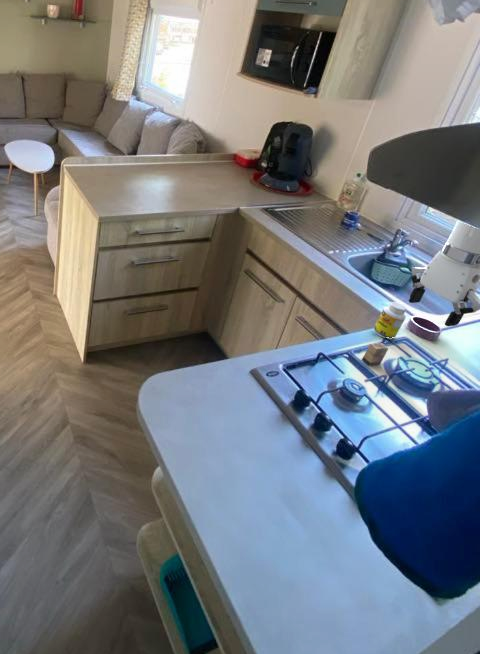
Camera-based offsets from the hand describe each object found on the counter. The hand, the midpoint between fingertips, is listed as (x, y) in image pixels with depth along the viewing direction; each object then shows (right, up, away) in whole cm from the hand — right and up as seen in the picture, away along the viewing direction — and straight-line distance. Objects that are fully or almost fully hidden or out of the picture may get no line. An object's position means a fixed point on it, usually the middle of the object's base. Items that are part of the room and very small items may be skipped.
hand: (431, 313), depth 107 cm
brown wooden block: (-13, -14, +4) cm, 19 cm away
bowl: (+14, -10, +22) cm, 28 cm away
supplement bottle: (0, -10, +18) cm, 20 cm away
